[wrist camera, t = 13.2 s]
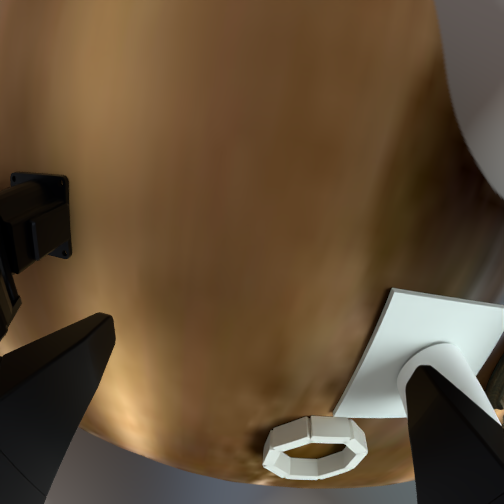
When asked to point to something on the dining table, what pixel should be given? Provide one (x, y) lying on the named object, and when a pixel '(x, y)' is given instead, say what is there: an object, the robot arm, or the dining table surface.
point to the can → (446, 373)
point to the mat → (416, 346)
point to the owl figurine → (497, 387)
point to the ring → (314, 432)
